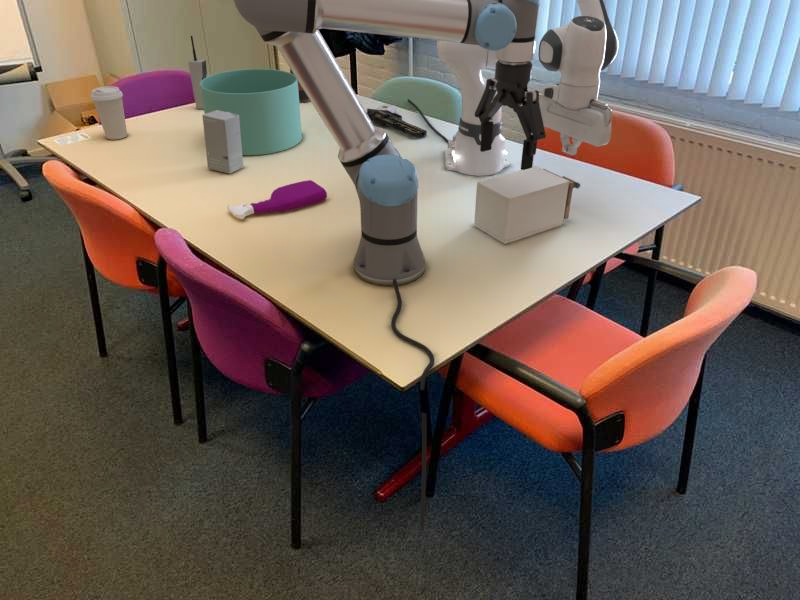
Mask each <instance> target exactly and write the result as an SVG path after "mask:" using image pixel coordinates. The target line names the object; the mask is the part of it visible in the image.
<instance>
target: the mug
mask: <svg viewBox="0 0 800 600" xmlns="http://www.w3.org/2000/svg"><path fill="white" fill-rule="evenodd" d="M289 73H292V74H293V72H292V70H291V69H290V68H289ZM293 75H294V74H293ZM297 81H298V80H297ZM298 92H299V103H308V102H311V101H310V99H309V98H308V96H307V94H306V93H305V91H304V90H303V88H302V86H301V85H300V83H299V82H298Z"/></svg>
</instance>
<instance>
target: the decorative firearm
mask: <svg viewBox="0 0 800 600" xmlns="http://www.w3.org/2000/svg"><path fill="white" fill-rule="evenodd" d="M397 110H398V107H397V105H393V104H388V103H385V104H382V105H379V106H378V107H376V108H369V107H367V108H366V113H367V115H368V116H369V118H370V120H371V121H373V122H374V123H377V124H379V125H382V126H383V127H384V126H389V127H391V128H393V129H395V130H397V131H399V132H401V133H404V134H406V135H408V136H411V137H415V138H416V137H419V138H424V137H426V136H427V132H428V130H426V129H423V128H421V127H420V126H416V125H413V124H411V123H409V122H406V121H405V120H403V115H401V114H399V113H397Z"/></svg>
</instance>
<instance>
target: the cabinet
mask: <svg viewBox="0 0 800 600" xmlns="http://www.w3.org/2000/svg"><path fill="white" fill-rule="evenodd" d="M543 169H544V168H541V167H539V166H537V165H535V166H532V168H529V169H526V170H521V169H520V170H516V171H512V172H508V173H505V174H501V175H498V176H497V175H496V176H493V177H490V178H486V179H483V180H480V181H479V180H478V181H477V182H476V194H475V208H474V209H475V210H474V223H473V226H474V227H475V228H477V229H478V230H480V231H482V232H484V234H487V235H489V236H490V237H492V238H494V239H495V240H496V241H498V242H500V243H502V244H503V245H507V244H511V243H513V242H516V241H519V240H521V239H525V238H528V237H531V236H534V235H537V234H541V233H543V232H547V231H549V230H552V229H555V228H558V227H561V226H563V224H564V220H565V219H564V212H565V206H566V199H567V193H568V186H569V181H568V180H566V179H563V178H561V177H562V176H561V177H559V176H560V175H559V176H557V175H558V174H557V175H554V174H552V173H553V172H552V173H550V172H551V171H550V172H548V171H549V170H548V171H546V170H547V169H546V170H543Z"/></svg>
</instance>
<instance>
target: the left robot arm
mask: <svg viewBox="0 0 800 600" xmlns="http://www.w3.org/2000/svg"><path fill="white" fill-rule="evenodd" d="M233 2H234V5H235V8H236V9H237V11H238V13H239V15H240V16H241V17H242V18H243V19H244V20H245V21H246V22H247V23H249V24H250V25H251V26H253V27H254V28H255V30H256V31H257V33H258V34H259V36H260V38H261V39H262V41H263V42H264V43H265V44H267V45H271V46H275V47H276V48H277V50H278V51H279V53H280V54H281V56H282V58H283V60H284V61H285V63H286V64H287V66H288V68H289V70H290V69H291V70H292V72H293V74H294V75H295V77H296V78H297V80H298V82H299V83H300V85H301V86H302V88H303V90H304V91H305V93H306V94H307V96H308V98H309V99H310V101H309V102H311V104H312V106H313V107H314V109H315V111H316V112H317V114H318V116H319V117H320V119H321V120H322V122H323V124H324V125H325V127H326V128H327V129H328V131H329V133H330V135H331V136H332V138H333V139H334V142H336V144H337V146H338V147H339V151H338V154H337V158H338V161H339V162H340V164H341V165H342V167H343V169H344V170H345V172H346V173H347V175H348V177H349V178H350V180H351V181H352V183H353V185H354V188H355V191H356V194H357V197H358V200H359V206H360V207H359V208H360V211H359V212H360V239H359V242H358V247H357V249H356V252H355V256H354V259H353V270H354V273H355V275H356V276H357V277H358V278H359V279H360V280H362V281H364V282H366V283H369V284H370V285H371V284H372V285H376V286H382V287H393V288H394V292H395V295H396V299H397V306H396V309H395V311H394V313H393V315H392V318H391V321H390V325H391V329H392V331H393V332H394V334H395V335H396V336H397V337H398V338H400V339H401V340H403V341H405V342H407V343H409V344H411V345H413V346H416V347H418V348H420V349H421V350H423V351H424V352H425V353H426V354H427V355H428V357H429V362H428V364H427V365H426V366H425V368H424V370H423V371H422V374H421V377H420V382H419V390H420V391H424V390H425V386H426V379H427V376H428V374H429V372H430V370H432V368H433V366H434V365H435V356H434V354H433V352H432V350H431V349H430V348H428V347H427V346H426V345H424V344H422V343H421V342H419V341H417V340H415V339H413V338H410V337H408V336H406V335H404V334H403V333H402V332H400V331H399V330H398V328H397V325H396V321H397V318H398V316H399V314H400V312H401V309H402V302H403V301H402V296H401V293H400V289H399V286H402V285H406V284H410V283H413V282H415V281H417V280H418V279H420V278H421V276H423V274H424V273H425V270H426V261H425V255H424V252H423V250H422V247H421V244H420V241H419V238H418V195H419V194H418V189H419V184H420V183H419V178H418V171H417V170H418V169H417V168H416V166H415V165H414V163H413V162H411V160H409V159H407V158H403V157H402V156H401V154H400V152H399V151H398V149H397V148H396V147H395V146H394V144H393V142H392V141H391V139H390V136H388V134H387V132H386V130H385V129H384V128H382V127H379V126H375V125H374V123H373V121H372V120H371V119H370V118H369V116H368V115H367V110H366V109H365V107H364V106H363V105H362V102H361V101H360V99H359V97H358V96H357V94H356V91H355V90H354V89H353V87H352V85H351V84H350V82H349V80H348V79H347V77H346V75H345V73H344V72H343V69H342V68H341V66H340V64H339V63H338V61H337V59H336V57H335V56H334V54H333V52H332V50H331V49H330V47H329V45H328V43H327V42H326V40H325V39H324V37H323V35H322V34H321V32H320V30H321V29H324V30H325V29H326V30H335V31H343V32H344V31H345V32H355V33H364V34H374V35H383V36H393V37H402V38H412V39H421V40H429V41H430V40H431V41H438V40H439V41H448V42H458V43H463V44H471V45H479V46H481V47H482V48H484V49H488V50H491V51H497V54H496V58H497V59H498V61H497V62H496V68H494V69H495V70H494V71H495V72H494V77H493V78H486V79H487V82H486V88H485V91H484V93H483V95H482V98H481V100H480V102H479V105H478V107H477V109H476V111H475V117H478V118H479V119H480V122H481V129H480V134H481V147H480V151H481V152H484V151H488V150H491V146H492V133H493V122H492V121H490V122H489V120H493V119H492V117H493V116H494V115H495V114H496V113H497V111H498V110H499V109H500V108H501V106H502V107H508V108H510V109H512V110H513V112H514V113H516V115H517V118H518V120H519V123H520V125H521V128H522V130H523V133H524V136H525V139H523V144H522V153H521V161H520V162H521V163H520V170H526V169H529V168H532V167H533V164H534V156H535V155H536V153H537V147H538V141H541V140H544V139H546V137H547V134H546V130H545V126H544V124H543V120H542V115H541V110H540V106H539V105H540V91H539V90H529V88H528V84H529V83H530V81H531V79H532V73H533V63H532V60H534V55H533V53H534V54H535V52H534V43H536V33H537V31H536V30H537V24H538V16H539V7H540V0H233ZM496 91H497V95H496V96H495V93H496ZM494 96H495V97H494ZM492 100H493V102H492ZM491 102H492V103H491ZM427 425H428V424H427V412H421V445H422V446H421V486H420V487H421V488H420V518H419V519H420V523H419V526H420V528H421V529H424V528H425V515H426V514H425V513H426V510H425V509H426V488H427V486H426V485H427V442H428V441H427V440H428V439H427V437H428V435H427V432H428V430H427V429H428V428H427V427H428V426H427Z"/></svg>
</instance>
